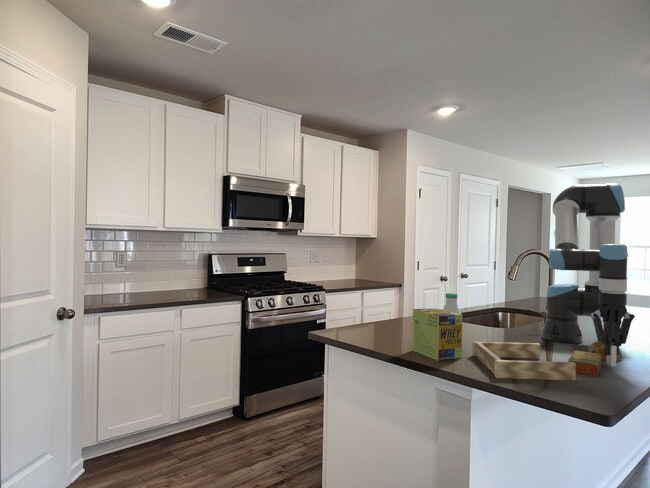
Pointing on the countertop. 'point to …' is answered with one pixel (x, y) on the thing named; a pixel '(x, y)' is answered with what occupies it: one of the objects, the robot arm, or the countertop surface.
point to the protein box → (437, 333)
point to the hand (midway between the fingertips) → (611, 365)
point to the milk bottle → (451, 303)
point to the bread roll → (601, 350)
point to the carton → (586, 363)
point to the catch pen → (521, 369)
